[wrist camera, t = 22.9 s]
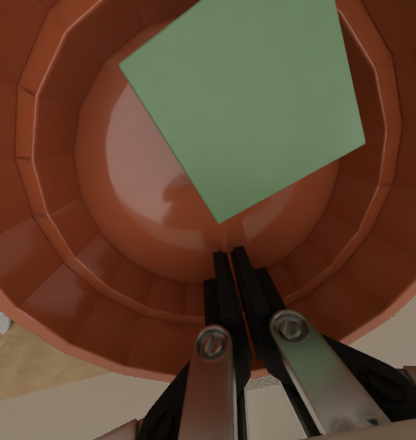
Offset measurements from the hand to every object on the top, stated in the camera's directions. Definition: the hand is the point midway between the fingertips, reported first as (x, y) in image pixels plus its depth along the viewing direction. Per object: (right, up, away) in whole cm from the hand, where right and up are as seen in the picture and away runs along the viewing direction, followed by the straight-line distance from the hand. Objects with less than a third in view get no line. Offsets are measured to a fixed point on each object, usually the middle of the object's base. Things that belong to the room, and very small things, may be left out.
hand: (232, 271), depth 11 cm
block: (0, +7, -2) cm, 7 cm away
